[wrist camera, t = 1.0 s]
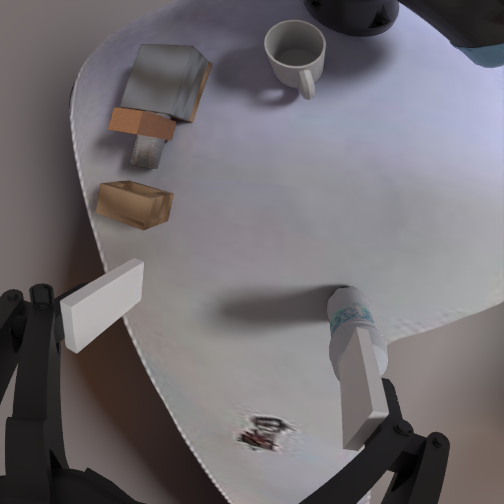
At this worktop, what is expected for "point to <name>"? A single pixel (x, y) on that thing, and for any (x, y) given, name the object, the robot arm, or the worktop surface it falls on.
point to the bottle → (352, 326)
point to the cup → (296, 54)
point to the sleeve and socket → (162, 101)
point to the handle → (144, 133)
